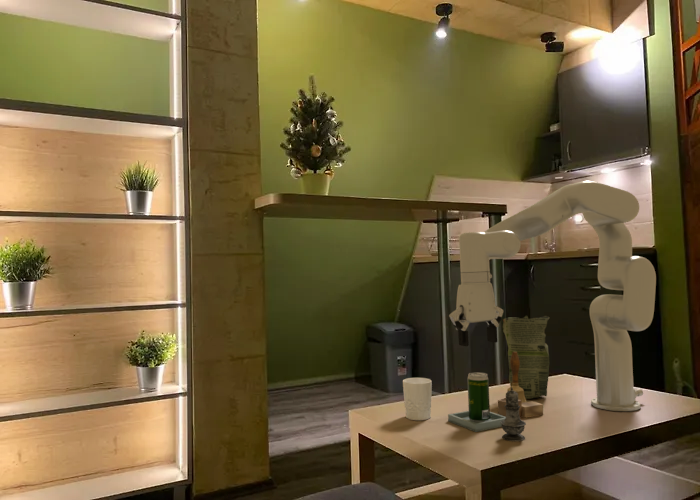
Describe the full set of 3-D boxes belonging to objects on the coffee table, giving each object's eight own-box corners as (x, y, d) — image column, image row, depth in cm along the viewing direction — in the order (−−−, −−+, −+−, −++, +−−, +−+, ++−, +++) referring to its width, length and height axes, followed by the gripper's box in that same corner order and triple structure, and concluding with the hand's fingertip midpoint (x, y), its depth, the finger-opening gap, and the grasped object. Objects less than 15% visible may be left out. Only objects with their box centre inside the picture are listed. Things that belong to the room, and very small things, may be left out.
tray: (480, 414, 149) (480, 408, 149) (509, 424, 139) (508, 417, 139) (448, 421, 144) (448, 414, 144) (475, 431, 134) (475, 424, 134)
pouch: (502, 395, 169) (499, 315, 170) (525, 389, 176) (522, 312, 177) (532, 402, 160) (529, 317, 161) (556, 395, 167) (552, 314, 168)
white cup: (435, 414, 151) (433, 378, 151) (429, 422, 143) (428, 384, 144) (407, 412, 153) (406, 377, 154) (400, 420, 146) (399, 382, 146)
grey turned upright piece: (497, 434, 132) (495, 385, 132) (520, 433, 132) (518, 383, 132) (506, 442, 126) (504, 390, 126) (530, 441, 126) (528, 389, 127)
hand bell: (504, 402, 161) (502, 349, 161) (533, 405, 157) (531, 350, 158) (498, 409, 154) (496, 353, 154) (528, 412, 150) (526, 354, 150)
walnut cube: (507, 413, 150) (506, 397, 150) (522, 416, 146) (521, 400, 146) (498, 417, 147) (497, 400, 147) (512, 420, 143) (512, 403, 143)
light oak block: (533, 411, 151) (532, 401, 151) (543, 415, 147) (542, 404, 148) (515, 414, 149) (515, 403, 149) (525, 418, 145) (524, 407, 145)
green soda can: (494, 420, 141) (492, 374, 141) (481, 424, 138) (479, 377, 138) (477, 416, 145) (476, 371, 146) (464, 420, 142) (463, 374, 142)
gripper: (490, 277, 150) (493, 339, 150) (440, 280, 142) (443, 345, 142) (510, 277, 144) (513, 342, 143) (458, 280, 136) (461, 349, 135)
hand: (478, 343), depth 143 cm, fingers open, 9 cm apart
